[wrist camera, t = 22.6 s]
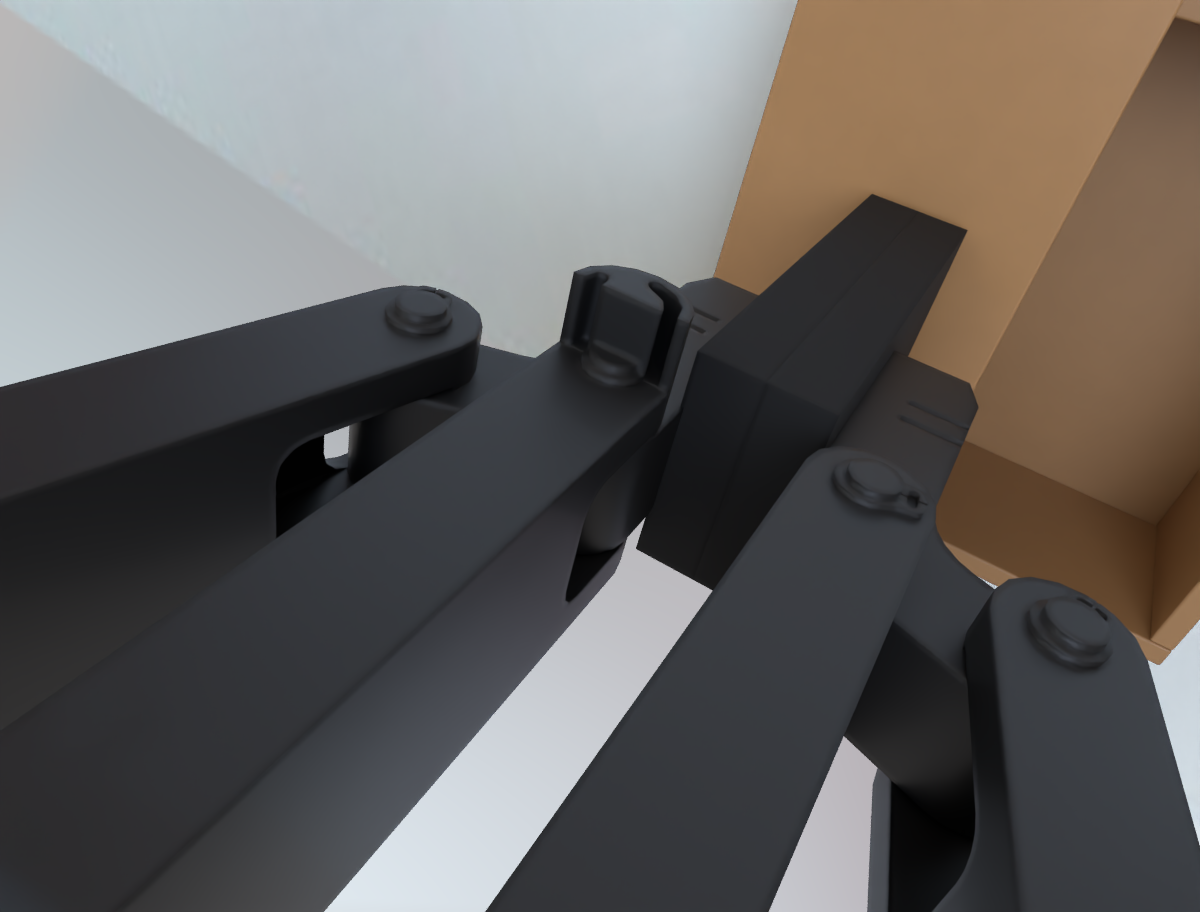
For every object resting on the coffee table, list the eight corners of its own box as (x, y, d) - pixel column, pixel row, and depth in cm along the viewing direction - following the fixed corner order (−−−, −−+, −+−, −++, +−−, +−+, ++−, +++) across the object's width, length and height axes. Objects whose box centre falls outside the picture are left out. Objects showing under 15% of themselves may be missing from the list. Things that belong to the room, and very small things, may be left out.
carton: (750, 351, 22) (674, 428, 19) (913, -111, 17) (843, -114, 13) (1165, 537, 20) (1159, 666, 16) (1536, 62, 14) (1645, 111, 10)
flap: (670, 436, 19) (660, 445, 18) (838, -108, 13) (830, -110, 13) (888, 549, 17) (882, 560, 17) (1188, -9, 12) (1187, -6, 11)
